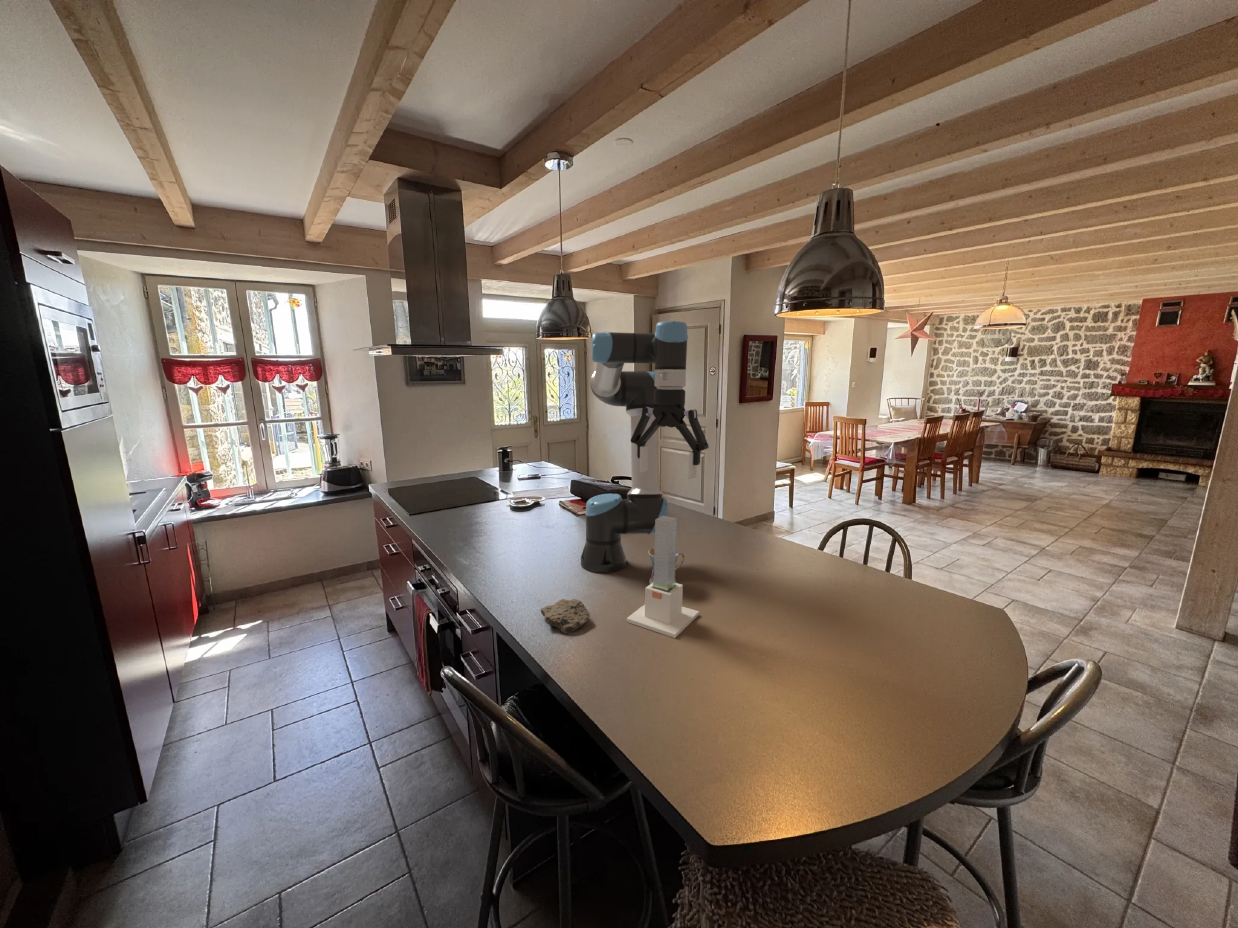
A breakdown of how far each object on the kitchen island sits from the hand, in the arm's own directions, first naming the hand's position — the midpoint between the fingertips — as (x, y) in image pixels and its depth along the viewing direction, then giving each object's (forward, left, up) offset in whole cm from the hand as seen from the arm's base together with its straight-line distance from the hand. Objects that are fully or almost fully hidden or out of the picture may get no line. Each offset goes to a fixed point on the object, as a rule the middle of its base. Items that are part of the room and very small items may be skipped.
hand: (667, 474), depth 122 cm
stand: (0, 0, -39) cm, 39 cm away
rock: (+16, -20, -39) cm, 47 cm away
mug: (-19, -9, -39) cm, 44 cm away
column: (0, 0, -31) cm, 31 cm away
